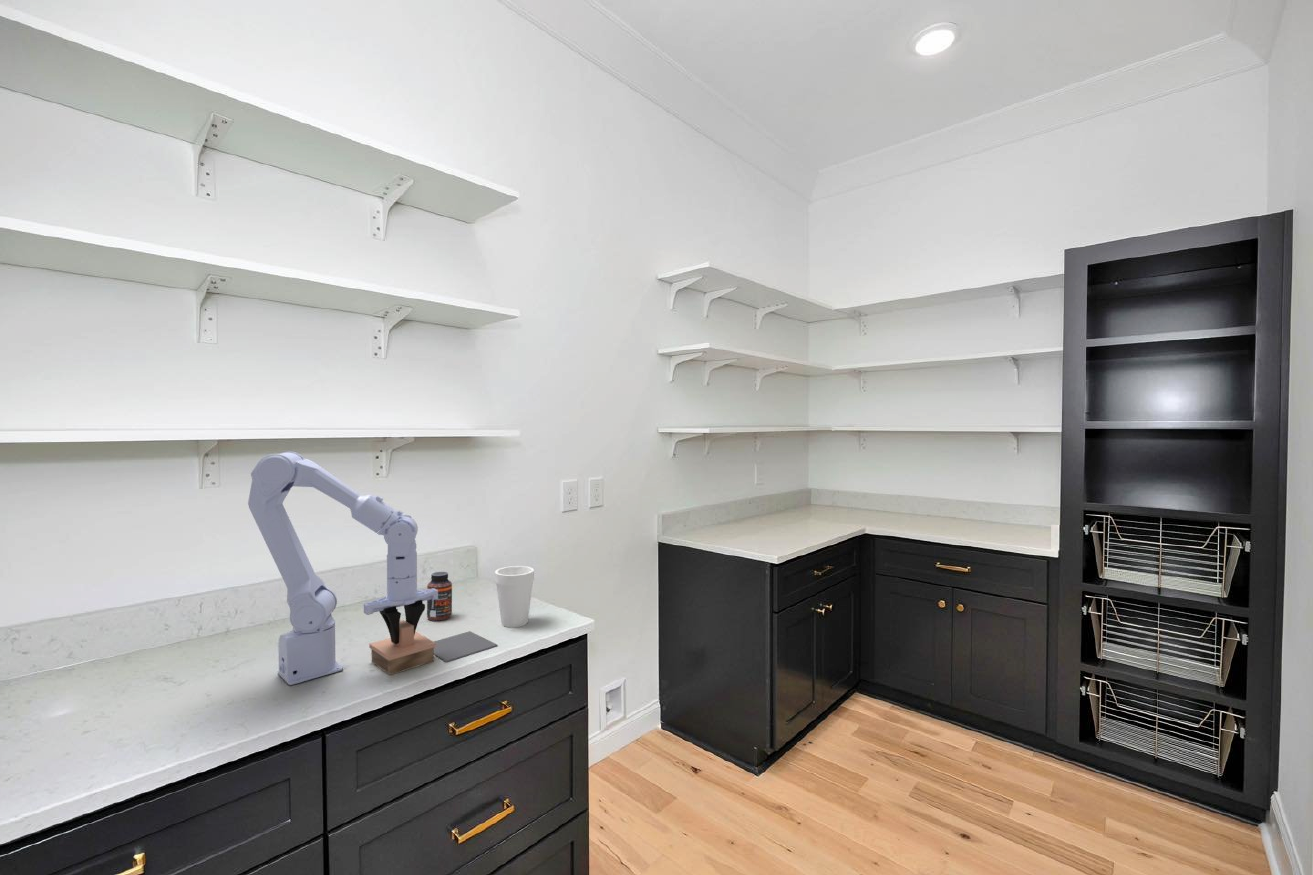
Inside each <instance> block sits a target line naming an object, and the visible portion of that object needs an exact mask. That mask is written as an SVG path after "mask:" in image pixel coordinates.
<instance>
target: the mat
mask: <svg viewBox="0 0 1313 875" xmlns="http://www.w3.org/2000/svg"><path fill="white" fill-rule="evenodd" d="M433 642H435V643H436V647H434V657H437V658H438V659H440V660H441V661H444V662H445V663H449V662H451V661H455V660H458V659H459V660H460V659H461V658H464V657H467V656H470V655H473V654H478V653H480V652H484V651H487V650H490V649H492V648H493V649H494V648H496V647H498V644H497V643H495V642H493V641H491V640H489V639H487V638H485V637H482V636H480V635H479V634H477V633H475V632H473V631H471V630H470V631H467V632H466V631H465V632H462V633H459V634H456V635H452V636H449V637H445V638H441V639H438V640H437V639H436V640H435V641H433Z"/></svg>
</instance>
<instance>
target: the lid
mask: <svg viewBox="0 0 1313 875" xmlns="http://www.w3.org/2000/svg"><path fill="white" fill-rule="evenodd" d="M434 647H436V643H435V642H434V641H433V640H431V639H429V638H428V637H426V636H424V635H422V634H421V633H418V632H417V631H415V635H414V625H412V624H410V623H408V622H406V620H404V619H400V623H399V643H398V644H394V643H393V642H391V637H389V638H385V639H382V640H379V641H373V642H370V643H369V649H371V651H372V650H374V651H375V652H377V653H378V654H380V655H381V656H383V657H384V658H386V659H387V660H388V661H389V660H393V659H396V658H400V657H403V656H406V655H410V654H413V653H417V652H420V651H423V650H427V649H430V648H434Z"/></svg>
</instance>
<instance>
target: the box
mask: <svg viewBox="0 0 1313 875" xmlns="http://www.w3.org/2000/svg"><path fill="white" fill-rule="evenodd" d="M434 658H435V655H434V648H430V649H427V650H423V651H420V652H417V653H413V654H410V655H406V656H403V657H400V658H396V659H393V660H389V661H388V660H387V659H386V658H384V657H383V656H381V655H380V654H378V653H377V652H375V651H374V650H372V649H371V662H372V664H374V665H375V666H377V667H378V668H380V669H381V670H382V671H384V672H385V673H387V674H388V675H389V676H391V675H394V674H397V673H400V672H404V671H406V670H410V669H413V668H416V667H420V666H423V665H427V664H429V663H433V662H434V661H435V659H434Z"/></svg>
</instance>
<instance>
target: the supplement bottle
mask: <svg viewBox="0 0 1313 875" xmlns="http://www.w3.org/2000/svg"><path fill="white" fill-rule="evenodd" d="M448 578H449V572H447V571H435V572H433V573H431V578H430V579H431V580H430V581H429V582H428V584H427V586H426V587H427V588H426V590H427V589H433V588H434V589H436V590H438V599H435V600H432V599H431V600H426V615H427V616H426V618H427V619H428V620H430V621H432V622H433V621H435V622H438V621H445V620H448V619H449V618H451V617H452V616H453V583H452V581H451V580H449V579H448Z"/></svg>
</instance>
